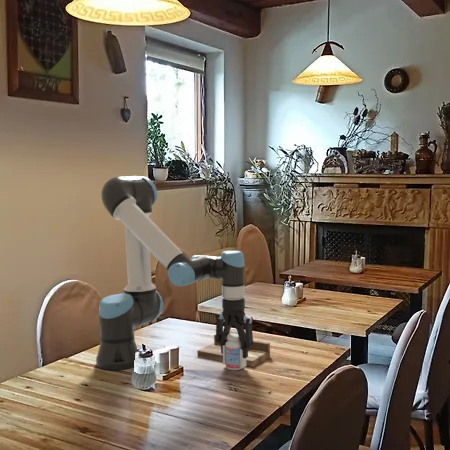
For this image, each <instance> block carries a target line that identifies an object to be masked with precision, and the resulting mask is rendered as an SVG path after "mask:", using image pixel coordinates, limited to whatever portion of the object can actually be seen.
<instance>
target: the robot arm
mask: <svg viewBox="0 0 450 450" xmlns="http://www.w3.org/2000/svg"><path fill="white" fill-rule="evenodd" d="M100 197H101V202H102V204H103V207H104V208H105V210H106V211H107V212H108V214H110V216H111V217H112V218H113V219H114V220H116V221H120V222H122V224H123V225H124V238H125V239H124V240H125V254H126V255H125V257H126V270H127V271H126V272H127V273H126V274H127V285H126V286H125V287H124V289H123V293H116V294H110V295H107V296H105V297H103V298H102V299H101V300H100V301H99V305H98V306H99V308H98V321H99V335H100V336H99V337H100V343H99V347H98V351H97V356H96V358H95V361H96V362H95V363H96V366H97V367H96V368H99V369H102V370H105V371H106V370H107V371H119V370H126V369H130V368H133V366H134V360H135V352H136V351H137V350H139V349H138V346H137V343H136V340H135V329H136V328H138V327H141V326H143V325H147V324H150V323H152V322H153V321H155V320H157V319H158V318H159V317H160V316H161V314H162V312H163V310H164V309H163V308H164V302H163V301H164V300H163V297H162V296H161V295H160V292H158V291H157V287H156V285H155V284H153V282H152V270H151V269H152V268H151V266H152V265H151V254H152V256H153V257H154V258H156V259H157V261H158V262H159V263H161V265H162V266H163V267H164V268H165V269H166V270H167V277H168V279H169V282H170V283H171V284H172V285H173V286H175V287H185V286H190V285H191V284H193V283H196V282H200V281H203V280H206V279H214V280H215V279H217V280H221V297H222V299H221V308H222V312H216V313H215V315H214V317H215V320H216V322H215V323H216V324H215V335H216V342H217V343H220V344H221V354H223V361H222V365H224V366H226V356H225V344H226V342H227V340H228V339H227V335H228V334H231V333H230V332H231V328H232V327H234V328H235V330H236V331H237V334H238V336H239V339H240V343H241V346H242V348H240V368H242V369H244V368H245V367H247V366H246V358H247V357H248V348H250V347H252V346H253V340H254V337H253V334H254V333H253V320H254V318H253V317H252V316H247V315H246V313H245V310H246V309H245V308H246V299H245V295H246V294H245V266H246V265H245V257H244V253H243V252H242V251H241V250H224V251H222V252H221V254H220V256H215V255H204V254H194V255H192V256H191V258H189V257H188V256H187V255H186V254H185V253H184V252H183V251H182V250H181V249H180V248H179V247H178V246H177V245H176V244H175V243H174V242H173V241H172V240H171V239H170V238H169V236H167V235H166V233H165V232H163V230H162V229H161V228H160V227H159V226H158V225H157V224H156V223H155V222H154V221H153V220H152V219H151V218H150V216H151V214H152V213H153V205H154V204H155V202H156V201H157V199H158V191H157V187H156V184H155V183H154V182H153V180H151V179H150V178H148V177H147V176H141V175H131V176H129V175H128V176H115V177H111V178H109V179H108V180H107V181H106V182H105V183H104V185H103V186H102V189H101V195H100ZM224 320H225V321H224ZM134 367H135V366H134Z"/></svg>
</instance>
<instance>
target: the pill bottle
mask: <svg viewBox="0 0 450 450" xmlns="http://www.w3.org/2000/svg"><path fill="white" fill-rule="evenodd" d="M227 339H228V341H227V342H226V344H225V356H226V365H225V368H226V369H227V370H228V371H229V370H230V371H239V370H242V369H243V368H240V348H242V346H241V343H240V339H239V336H238V332H237V333H235V332H233V333H229V334H228V335H227Z"/></svg>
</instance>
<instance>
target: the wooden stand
mask: <svg viewBox="0 0 450 450" xmlns="http://www.w3.org/2000/svg"><path fill="white" fill-rule="evenodd" d="M227 341H228V340H227ZM196 352H197V357H200V358H204V359H205V358H206V359H210V360H211V359H212V360H216V361H219V362H220V361H221V362H223V354H221V344H220V343H217V342H216V334H214V335H213V343H212V344H209V345H207V346H204V347H203V348H200V349H198V350H197V351H196ZM270 357H271V343H270V342H266V341H265V342H264V341H258V340H254V339H253V346H252V347H250V348H248V357H247V358H246V366H245V367H255V366H257V365H259V364H260V363H262V362H264V361H265V359H266V360H267V359H269V358H270Z"/></svg>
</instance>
